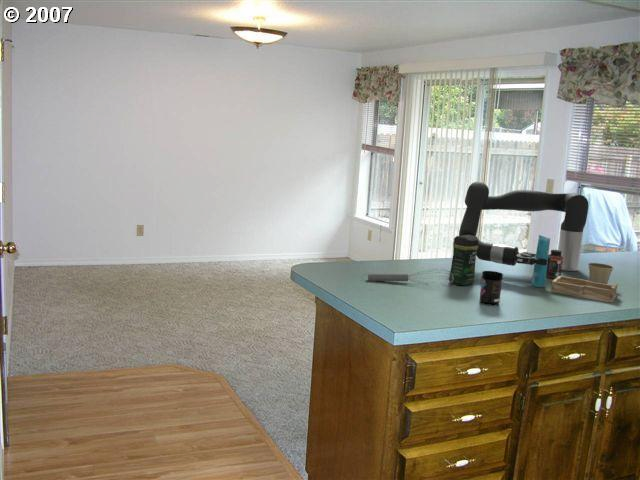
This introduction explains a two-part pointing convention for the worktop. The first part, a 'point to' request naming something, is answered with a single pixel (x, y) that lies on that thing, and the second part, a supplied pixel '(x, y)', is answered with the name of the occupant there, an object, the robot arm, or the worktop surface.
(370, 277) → the kitchen whisk
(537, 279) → the tube
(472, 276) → the coffee jar
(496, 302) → the supplement container
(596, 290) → the keyhole tray
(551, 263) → the supplement bottle
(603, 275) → the flower pot
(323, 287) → the worktop surface
